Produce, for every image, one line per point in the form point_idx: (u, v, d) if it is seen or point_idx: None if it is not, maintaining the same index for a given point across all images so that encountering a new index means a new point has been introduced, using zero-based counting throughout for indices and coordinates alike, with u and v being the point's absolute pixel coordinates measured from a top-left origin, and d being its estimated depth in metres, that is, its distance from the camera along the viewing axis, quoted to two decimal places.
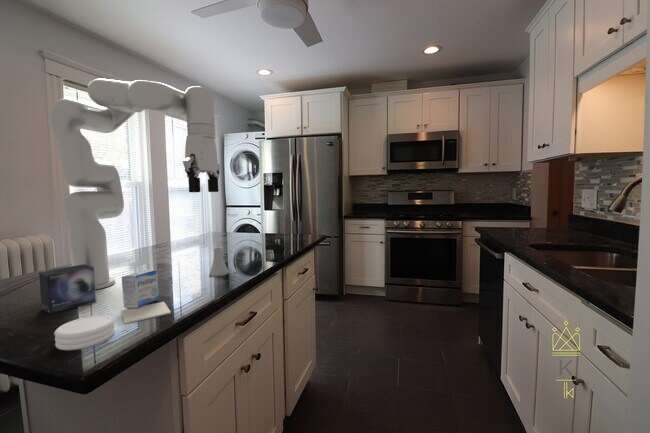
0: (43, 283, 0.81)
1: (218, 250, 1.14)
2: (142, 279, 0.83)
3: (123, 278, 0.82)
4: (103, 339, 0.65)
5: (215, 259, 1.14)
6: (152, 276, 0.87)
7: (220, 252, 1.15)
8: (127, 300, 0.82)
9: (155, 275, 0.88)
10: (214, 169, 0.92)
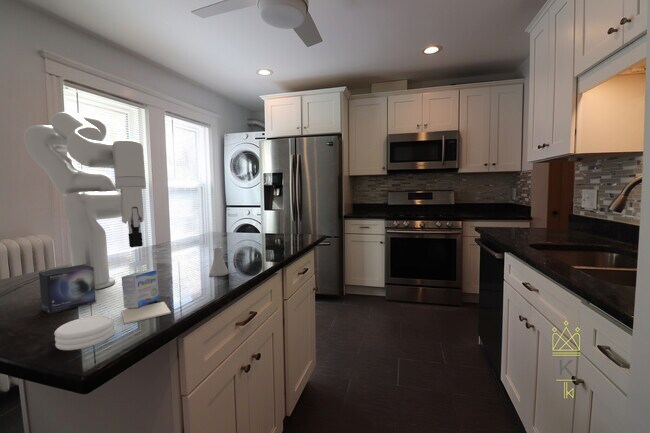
0: (43, 283, 0.80)
1: (218, 250, 1.14)
2: (142, 279, 0.83)
3: (123, 278, 0.82)
4: (103, 339, 0.65)
5: (215, 259, 1.14)
6: (152, 276, 0.87)
7: (220, 252, 1.15)
8: (127, 300, 0.82)
9: (155, 275, 0.88)
10: (141, 218, 0.94)
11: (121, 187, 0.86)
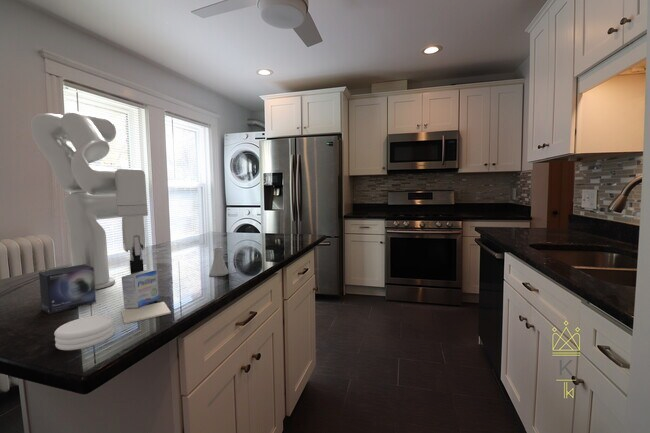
0: (43, 283, 0.80)
1: (218, 250, 1.14)
2: (142, 279, 0.83)
3: (123, 278, 0.82)
4: (103, 339, 0.65)
5: (215, 259, 1.14)
6: (152, 276, 0.87)
7: (220, 252, 1.15)
8: (127, 300, 0.82)
9: (155, 275, 0.88)
10: (142, 244, 0.94)
11: (123, 216, 0.86)
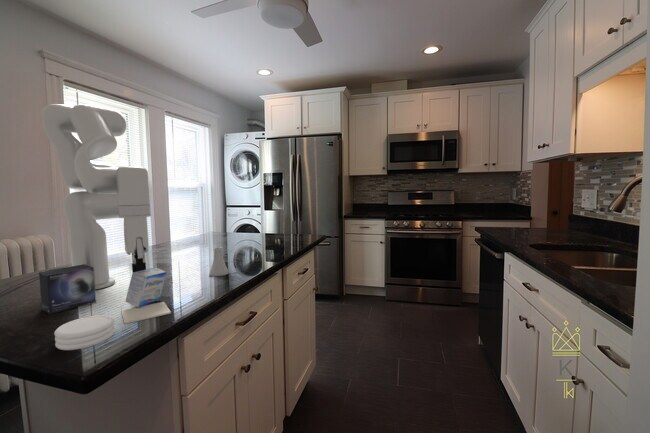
0: (43, 283, 0.80)
1: (218, 250, 1.14)
2: (151, 280, 0.83)
3: (134, 274, 0.81)
4: (103, 339, 0.65)
5: (215, 259, 1.14)
6: (161, 278, 0.87)
7: (220, 252, 1.15)
8: (130, 296, 0.82)
9: (164, 277, 0.88)
10: (145, 247, 0.89)
11: (125, 216, 0.82)
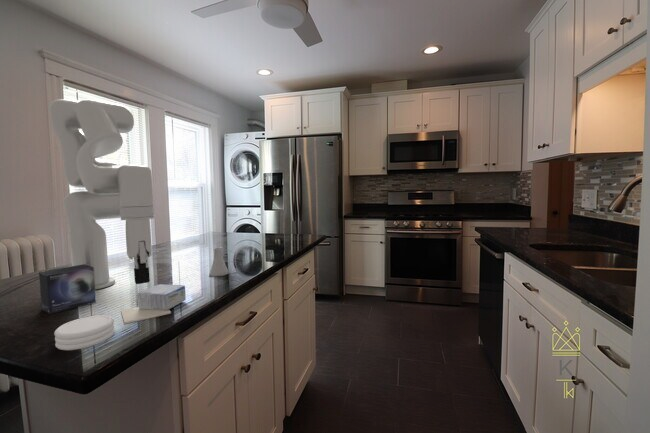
0: (43, 283, 0.80)
1: (218, 250, 1.14)
2: None
3: (164, 296, 0.79)
4: (103, 339, 0.65)
5: (215, 259, 1.14)
6: None
7: (220, 252, 1.15)
8: (144, 297, 0.81)
9: None
10: (147, 250, 0.84)
11: (127, 218, 0.77)
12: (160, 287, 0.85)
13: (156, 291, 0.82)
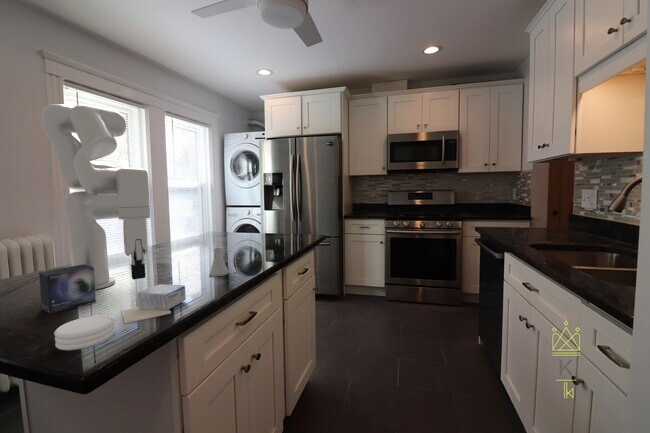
0: (43, 283, 0.81)
1: (218, 250, 1.14)
2: None
3: (164, 296, 0.79)
4: (103, 339, 0.64)
5: (215, 259, 1.14)
6: None
7: (220, 252, 1.15)
8: (144, 297, 0.81)
9: None
10: None
11: (124, 218, 0.82)
12: (160, 287, 0.85)
13: (156, 291, 0.82)
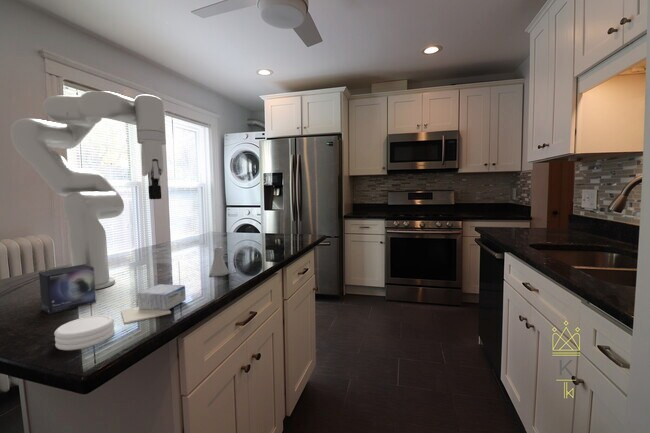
0: (43, 283, 0.80)
1: (218, 250, 1.14)
2: None
3: (164, 296, 0.79)
4: (103, 339, 0.64)
5: (215, 259, 1.14)
6: None
7: (220, 252, 1.15)
8: (144, 297, 0.81)
9: None
10: None
11: (143, 140, 0.90)
12: (160, 287, 0.85)
13: (156, 291, 0.82)
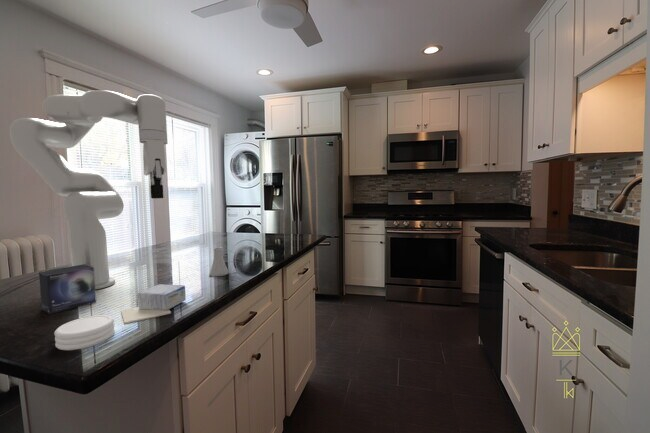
0: (43, 283, 0.80)
1: (218, 250, 1.14)
2: None
3: (164, 296, 0.79)
4: (103, 339, 0.64)
5: (215, 259, 1.14)
6: None
7: (220, 252, 1.15)
8: (144, 297, 0.81)
9: None
10: None
11: (145, 139, 0.91)
12: (160, 287, 0.85)
13: (156, 291, 0.82)
